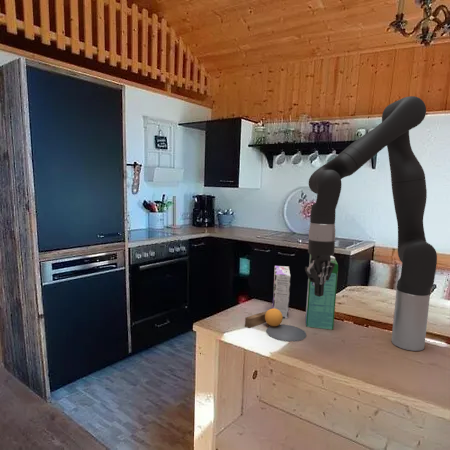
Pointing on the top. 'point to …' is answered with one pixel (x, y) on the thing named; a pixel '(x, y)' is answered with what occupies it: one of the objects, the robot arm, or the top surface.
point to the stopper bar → (255, 320)
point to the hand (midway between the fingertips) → (318, 295)
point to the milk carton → (322, 302)
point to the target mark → (286, 333)
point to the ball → (273, 317)
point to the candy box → (281, 289)
